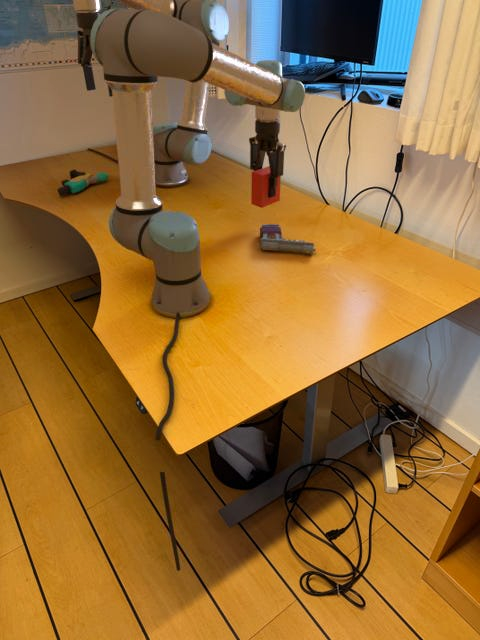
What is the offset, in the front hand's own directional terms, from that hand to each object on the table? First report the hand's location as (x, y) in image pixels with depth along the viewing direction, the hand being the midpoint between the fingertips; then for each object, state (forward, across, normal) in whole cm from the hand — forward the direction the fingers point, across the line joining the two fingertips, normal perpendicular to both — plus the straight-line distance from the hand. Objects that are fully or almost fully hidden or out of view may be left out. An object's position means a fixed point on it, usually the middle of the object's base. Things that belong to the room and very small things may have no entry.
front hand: (265, 194), depth 156 cm
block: (+3, 0, 0) cm, 3 cm away
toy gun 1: (+12, +81, +26) cm, 86 cm away
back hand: (-29, +43, +29) cm, 60 cm away
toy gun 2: (+12, -14, +5) cm, 19 cm away
